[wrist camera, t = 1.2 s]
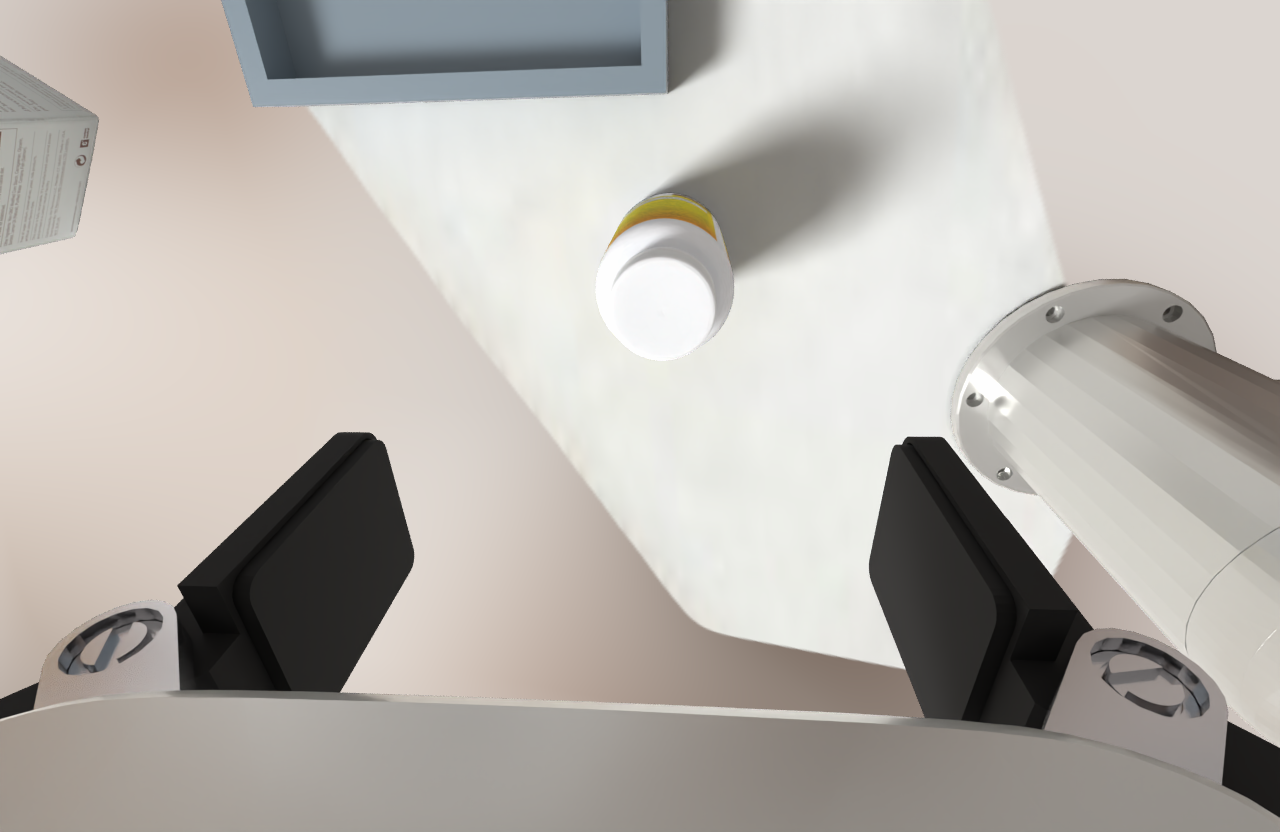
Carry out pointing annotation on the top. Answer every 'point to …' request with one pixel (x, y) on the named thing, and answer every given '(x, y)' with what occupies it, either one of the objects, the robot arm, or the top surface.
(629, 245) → the supplement bottle
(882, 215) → the top surface
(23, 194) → the supplement box
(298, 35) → the tray
